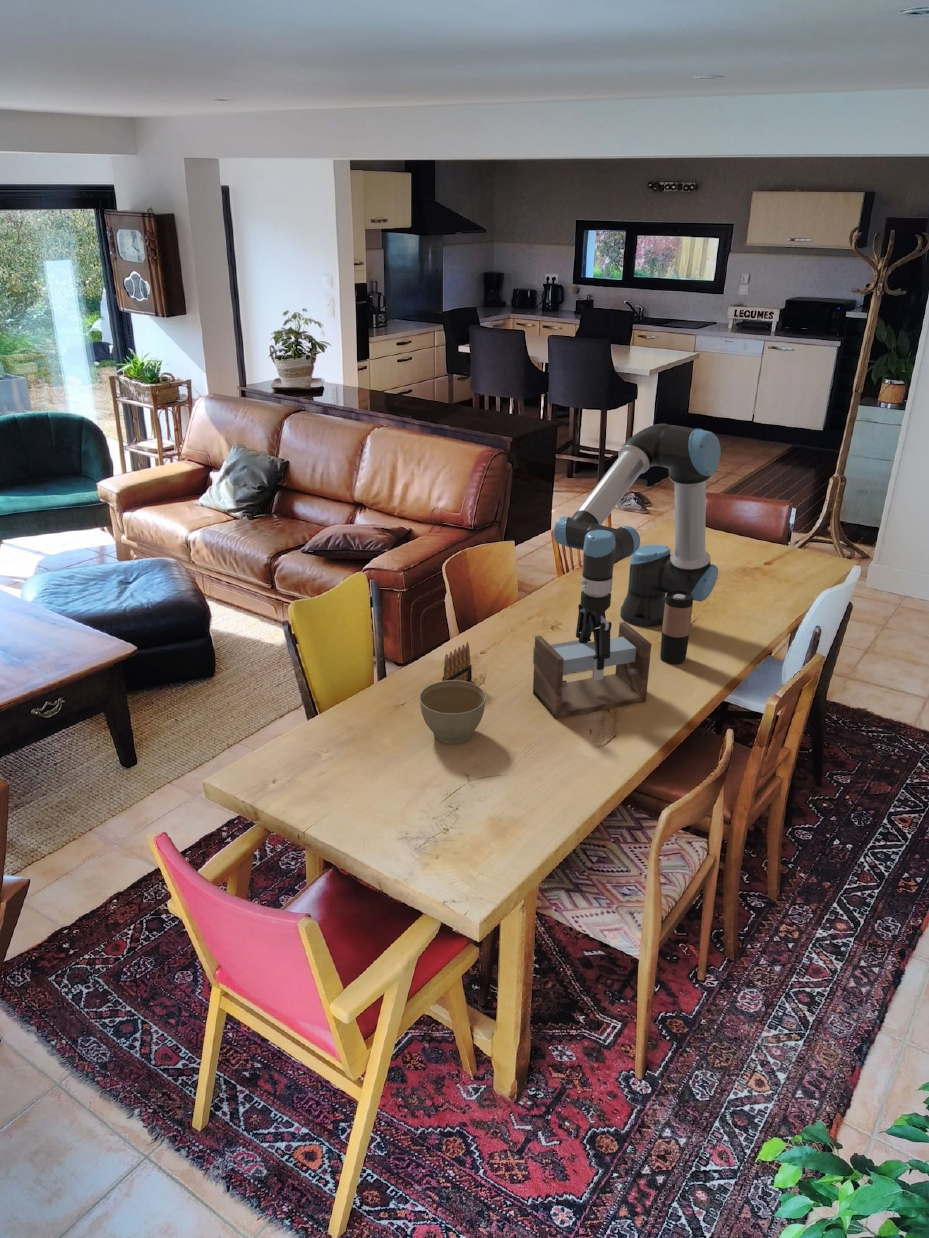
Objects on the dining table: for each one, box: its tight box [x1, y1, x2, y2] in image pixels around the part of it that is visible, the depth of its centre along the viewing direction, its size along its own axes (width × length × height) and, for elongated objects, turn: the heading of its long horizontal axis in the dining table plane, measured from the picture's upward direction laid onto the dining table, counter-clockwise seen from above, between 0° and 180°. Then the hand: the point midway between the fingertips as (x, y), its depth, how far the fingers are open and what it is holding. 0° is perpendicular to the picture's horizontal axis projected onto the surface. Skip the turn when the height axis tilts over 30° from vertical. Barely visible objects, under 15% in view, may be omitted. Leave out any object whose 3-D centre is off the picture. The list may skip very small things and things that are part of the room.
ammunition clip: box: [442, 641, 473, 683], centre depth 244 cm, size 11×2×12 cm, turn 142°
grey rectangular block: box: [532, 639, 588, 665], centre depth 259 cm, size 16×4×5 cm, turn 110°
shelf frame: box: [532, 621, 652, 720], centre depth 238 cm, size 26×14×17 cm, turn 110°
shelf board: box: [554, 637, 636, 675], centre depth 236 cm, size 22×7×4 cm, turn 110°
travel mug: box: [659, 590, 694, 665], centre depth 258 cm, size 8×8×20 cm
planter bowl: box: [418, 680, 487, 745], centre depth 223 cm, size 16×16×11 cm
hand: (590, 672), depth 238 cm, fingers closed on shelf board, 7 cm apart
